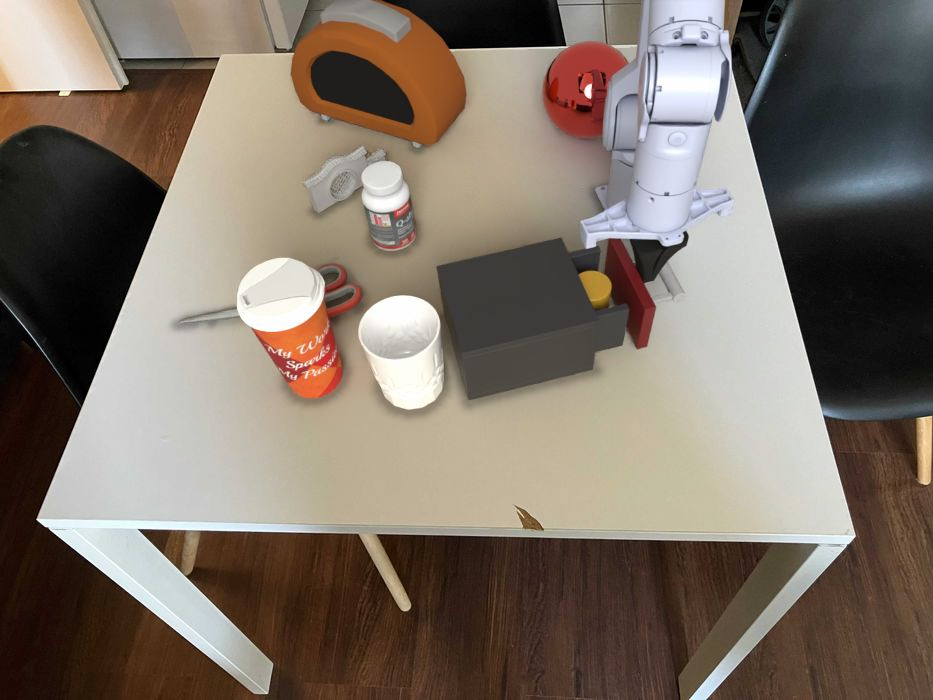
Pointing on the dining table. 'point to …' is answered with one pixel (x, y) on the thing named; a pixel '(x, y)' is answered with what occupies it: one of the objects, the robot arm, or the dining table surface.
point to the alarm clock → (379, 71)
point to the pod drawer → (625, 295)
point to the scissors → (330, 294)
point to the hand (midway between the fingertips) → (644, 275)
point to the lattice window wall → (332, 169)
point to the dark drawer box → (518, 317)
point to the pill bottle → (388, 206)
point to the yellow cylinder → (597, 288)
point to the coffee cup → (292, 324)
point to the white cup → (404, 349)
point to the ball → (580, 87)
